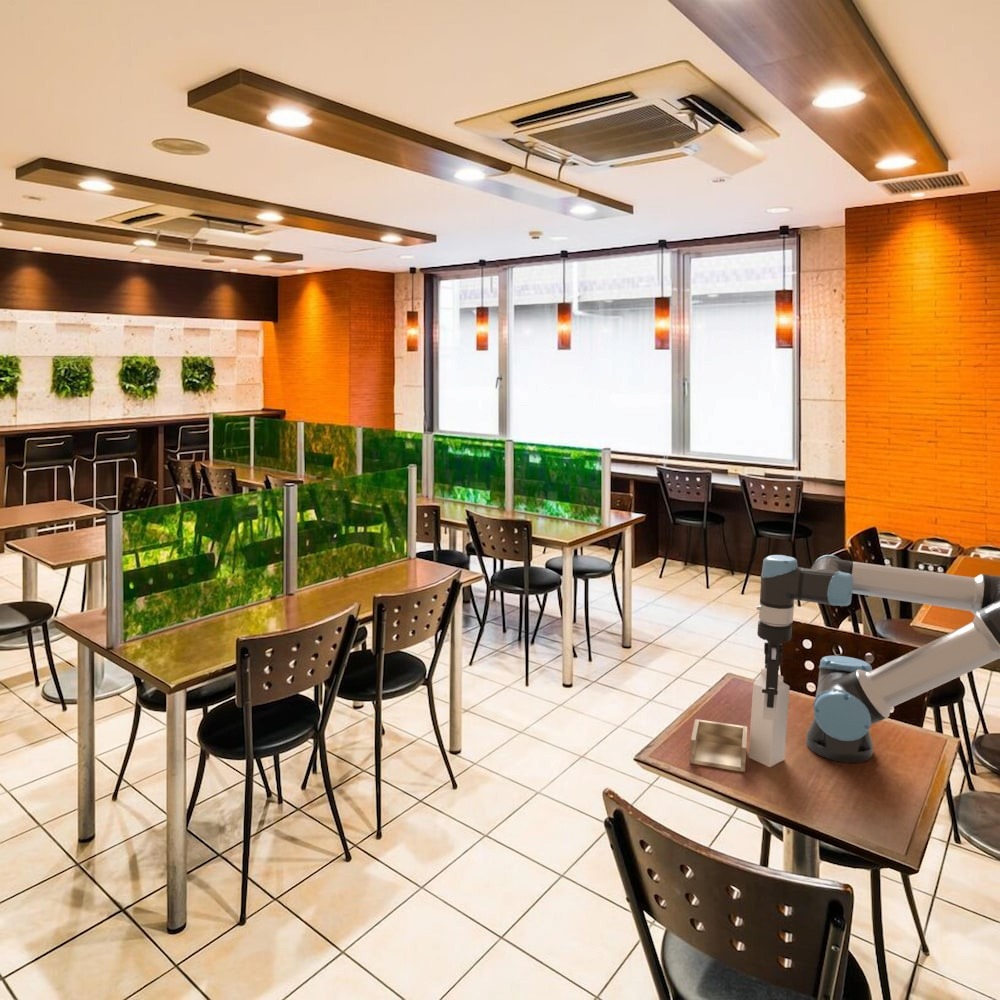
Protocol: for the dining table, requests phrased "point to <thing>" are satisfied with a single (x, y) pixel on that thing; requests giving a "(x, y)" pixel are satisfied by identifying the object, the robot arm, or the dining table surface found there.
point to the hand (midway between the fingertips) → (768, 707)
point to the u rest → (719, 745)
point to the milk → (768, 724)
